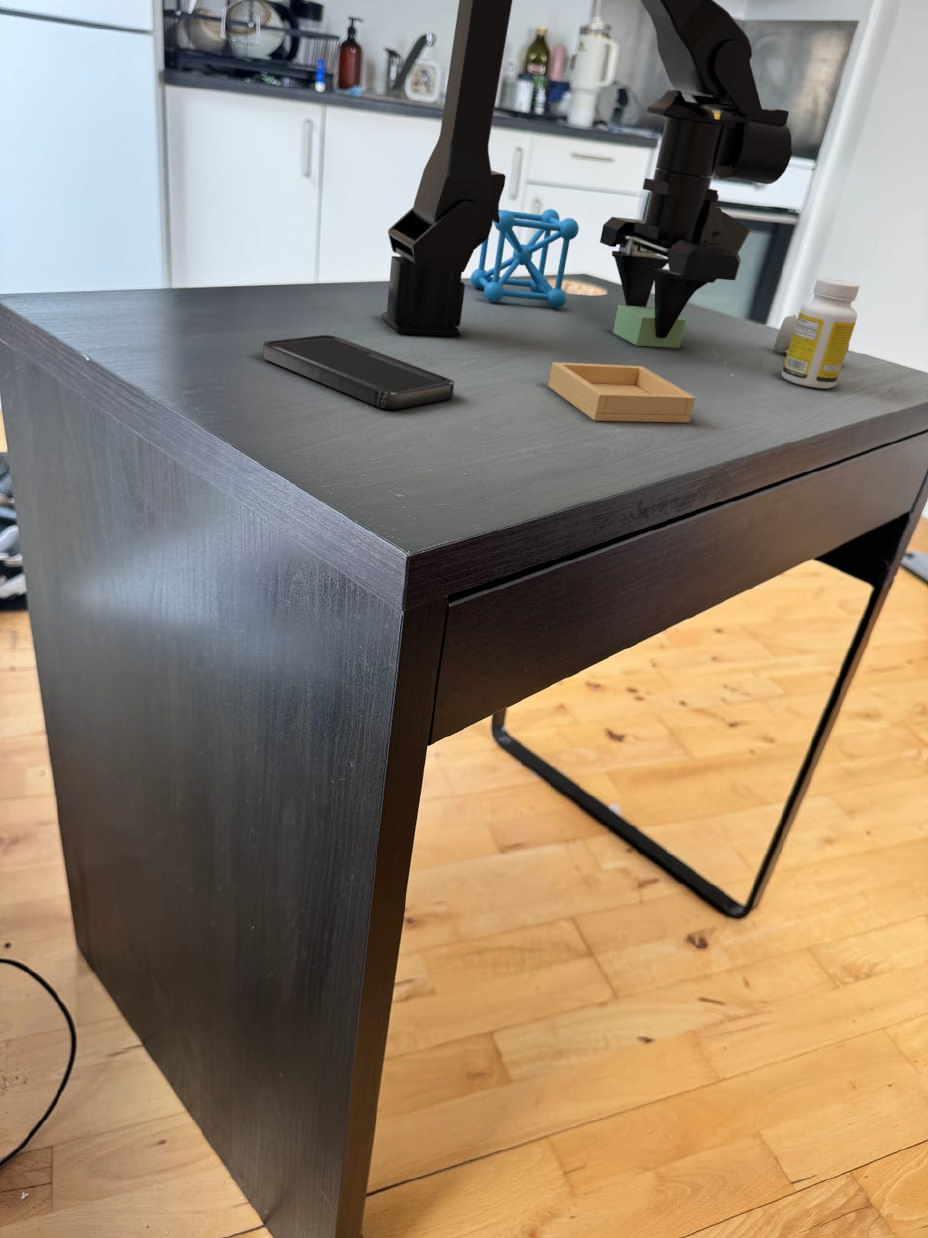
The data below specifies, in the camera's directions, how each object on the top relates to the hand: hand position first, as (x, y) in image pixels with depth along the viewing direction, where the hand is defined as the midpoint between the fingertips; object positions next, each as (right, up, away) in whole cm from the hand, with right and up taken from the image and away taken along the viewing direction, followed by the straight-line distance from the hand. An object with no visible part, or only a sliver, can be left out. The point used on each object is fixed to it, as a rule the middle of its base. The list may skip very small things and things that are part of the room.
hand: (647, 330), depth 100 cm
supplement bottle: (+15, -7, -7) cm, 18 cm away
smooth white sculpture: (+19, -2, +4) cm, 19 cm away
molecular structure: (-14, +8, +12) cm, 20 cm away
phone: (-29, -12, -27) cm, 41 cm away
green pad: (0, -1, +1) cm, 1 cm away
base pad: (-7, -13, -23) cm, 28 cm away
